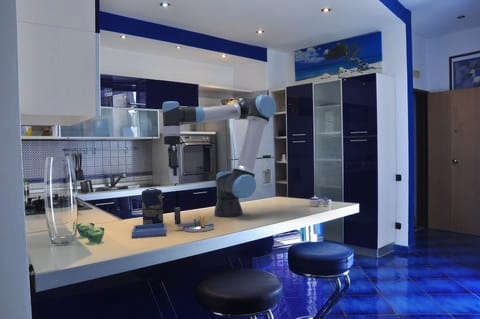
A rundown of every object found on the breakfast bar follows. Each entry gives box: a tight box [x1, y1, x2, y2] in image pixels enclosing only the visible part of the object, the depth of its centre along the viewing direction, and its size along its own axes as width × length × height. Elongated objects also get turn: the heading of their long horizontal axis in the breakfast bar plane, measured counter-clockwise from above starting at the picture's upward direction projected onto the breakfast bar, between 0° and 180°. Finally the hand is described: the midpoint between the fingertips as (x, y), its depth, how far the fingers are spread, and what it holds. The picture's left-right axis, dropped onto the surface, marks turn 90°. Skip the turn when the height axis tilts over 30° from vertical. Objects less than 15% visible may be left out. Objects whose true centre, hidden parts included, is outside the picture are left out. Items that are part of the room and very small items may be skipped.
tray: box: [131, 222, 167, 239], centre depth 159 cm, size 14×15×2 cm
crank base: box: [182, 215, 215, 233], centre depth 165 cm, size 14×14×6 cm
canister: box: [141, 187, 164, 225], centre depth 175 cm, size 10×10×18 cm
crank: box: [173, 206, 200, 228], centre depth 164 cm, size 12×4×8 cm, turn 102°
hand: (173, 182), depth 170 cm, fingers open, 13 cm apart
